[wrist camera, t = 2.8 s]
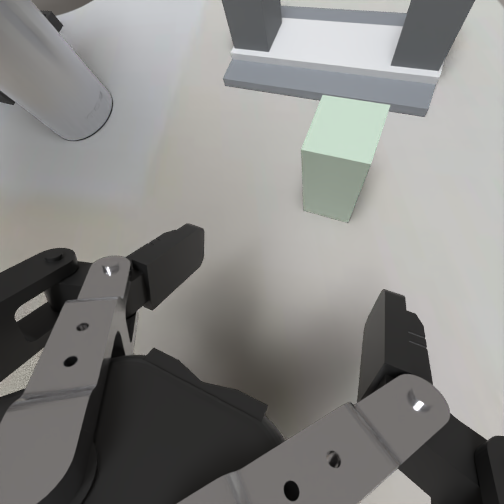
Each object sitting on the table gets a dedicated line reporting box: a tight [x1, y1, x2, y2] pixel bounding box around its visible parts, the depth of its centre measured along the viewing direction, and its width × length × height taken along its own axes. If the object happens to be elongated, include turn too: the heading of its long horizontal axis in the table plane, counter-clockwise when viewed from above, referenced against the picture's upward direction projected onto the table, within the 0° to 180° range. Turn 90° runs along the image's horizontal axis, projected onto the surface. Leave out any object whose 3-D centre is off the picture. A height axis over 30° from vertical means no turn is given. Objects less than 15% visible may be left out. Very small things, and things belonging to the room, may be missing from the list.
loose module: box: [301, 95, 390, 223], centre depth 22 cm, size 4×5×10 cm
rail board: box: [222, 0, 475, 116], centre depth 27 cm, size 23×12×10 cm, turn 68°
